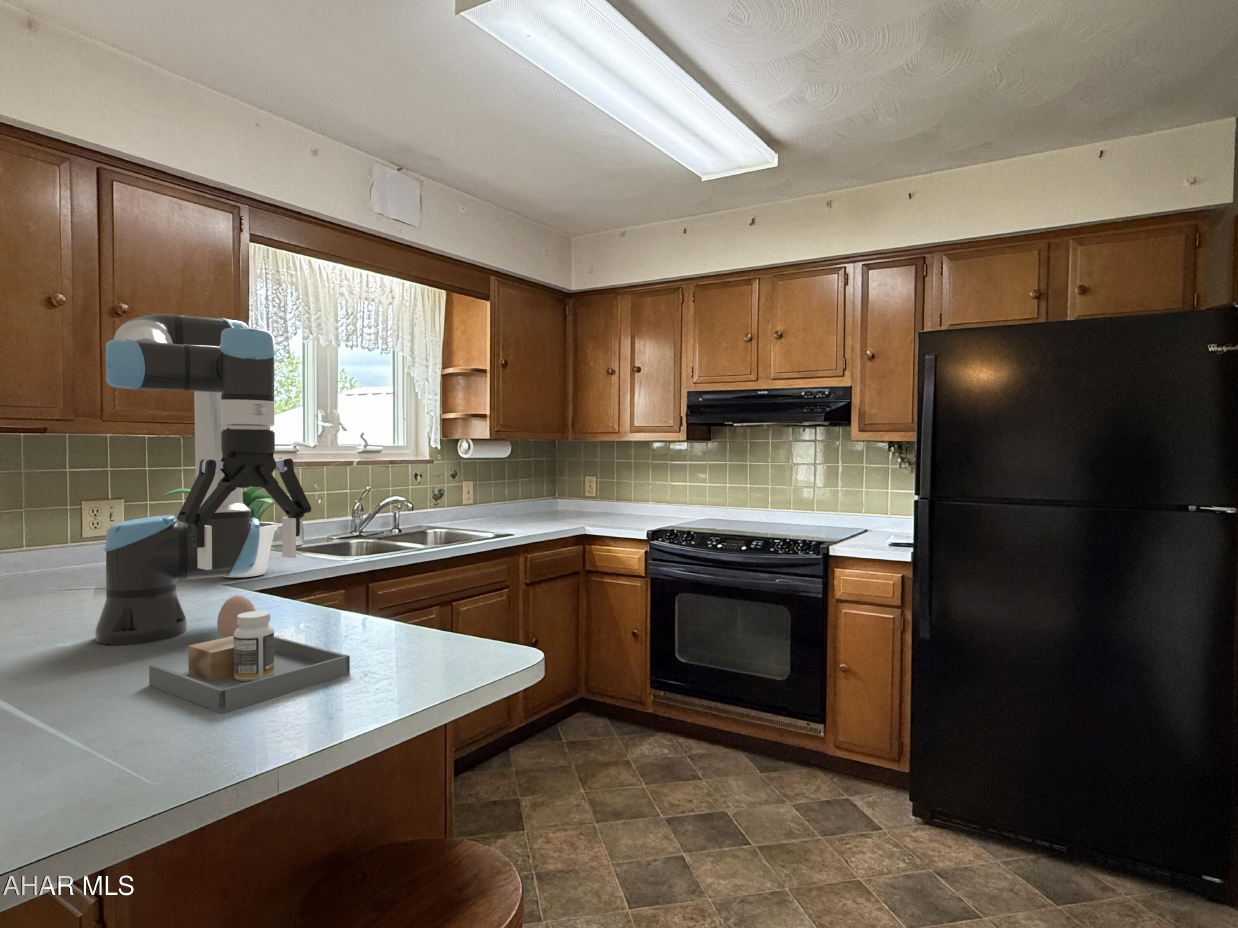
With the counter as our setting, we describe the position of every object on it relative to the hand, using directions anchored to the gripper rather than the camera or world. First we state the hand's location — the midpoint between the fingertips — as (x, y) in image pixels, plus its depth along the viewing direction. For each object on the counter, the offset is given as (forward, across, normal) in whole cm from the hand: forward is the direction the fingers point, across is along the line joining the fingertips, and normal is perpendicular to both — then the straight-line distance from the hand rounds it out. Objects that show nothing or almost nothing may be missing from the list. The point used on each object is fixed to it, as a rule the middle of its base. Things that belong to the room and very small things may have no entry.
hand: (249, 562), depth 115 cm
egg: (+19, +10, +22) cm, 30 cm away
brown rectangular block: (+19, 0, +5) cm, 19 cm away
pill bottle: (+18, 0, -2) cm, 18 cm away
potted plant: (+20, +48, +93) cm, 107 cm away
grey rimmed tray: (+18, 0, -1) cm, 19 cm away
